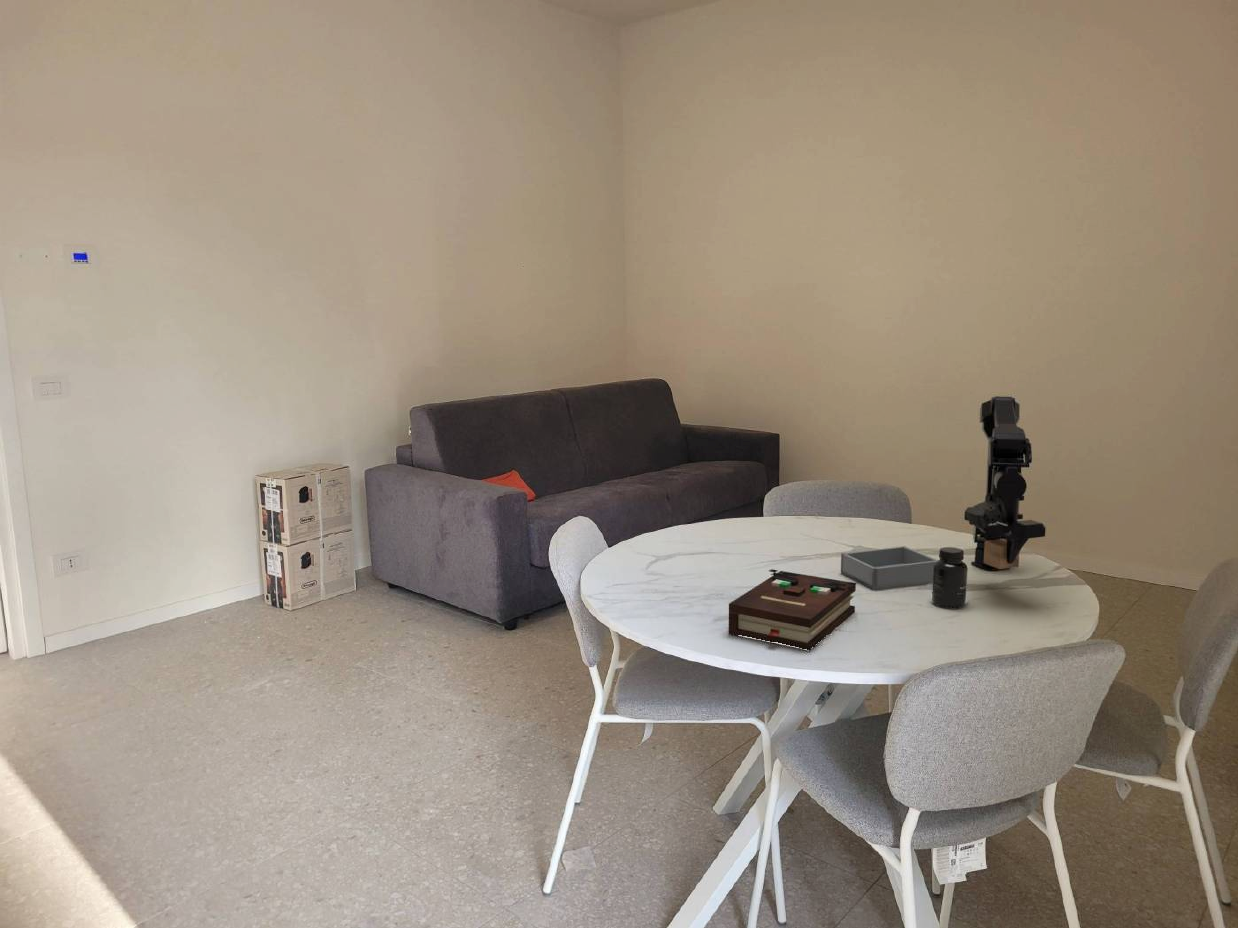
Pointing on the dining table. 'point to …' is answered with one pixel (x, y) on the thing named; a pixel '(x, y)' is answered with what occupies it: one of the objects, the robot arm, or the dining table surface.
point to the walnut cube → (998, 554)
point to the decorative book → (792, 609)
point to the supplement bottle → (950, 579)
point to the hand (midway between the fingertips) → (1001, 559)
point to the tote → (888, 567)
